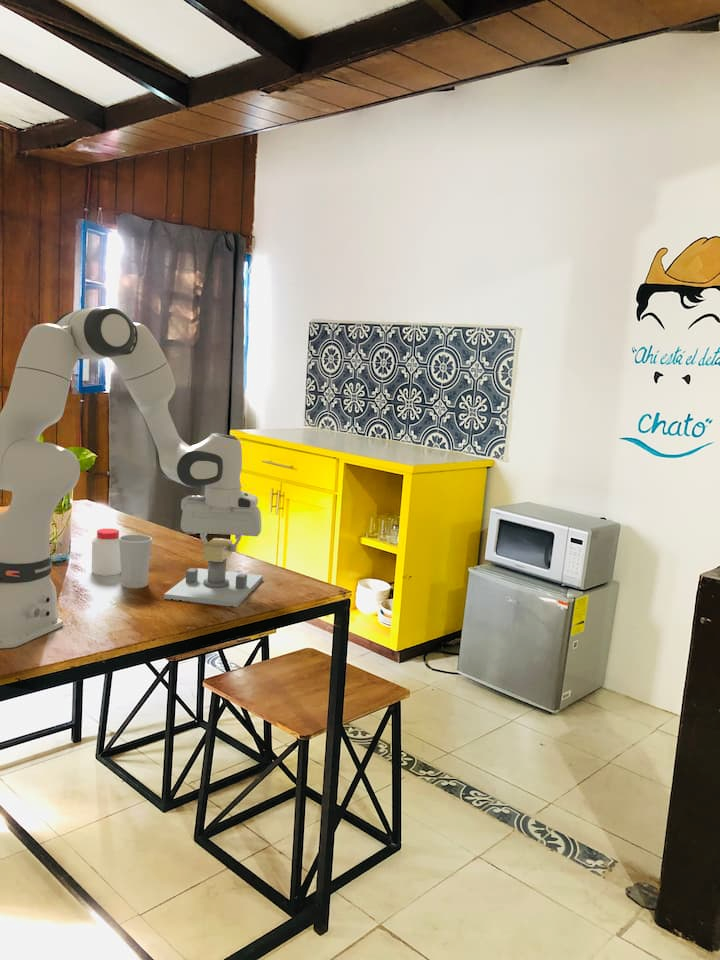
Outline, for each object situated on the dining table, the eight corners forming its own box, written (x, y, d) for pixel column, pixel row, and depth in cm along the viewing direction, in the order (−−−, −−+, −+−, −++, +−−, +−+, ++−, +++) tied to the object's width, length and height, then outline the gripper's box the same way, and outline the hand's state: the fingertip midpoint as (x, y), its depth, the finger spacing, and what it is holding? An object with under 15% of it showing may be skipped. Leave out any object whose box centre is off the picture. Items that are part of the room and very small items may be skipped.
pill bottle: (103, 577, 202) (104, 535, 200) (85, 570, 207) (86, 530, 205) (128, 572, 208) (129, 531, 207) (110, 565, 213) (111, 526, 211)
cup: (134, 577, 204) (135, 532, 202) (157, 584, 200) (159, 538, 198) (110, 584, 197) (112, 537, 195) (134, 591, 193) (135, 543, 191)
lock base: (236, 607, 187) (238, 578, 186) (164, 598, 189) (165, 569, 188) (262, 579, 210) (264, 553, 209) (197, 572, 213) (198, 546, 211)
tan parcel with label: (221, 566, 194) (222, 547, 193) (202, 564, 194) (203, 545, 194) (231, 557, 203) (232, 539, 202) (213, 555, 203) (214, 537, 203)
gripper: (178, 496, 196) (176, 550, 198) (261, 502, 196) (258, 556, 198) (184, 492, 202) (182, 544, 204) (263, 497, 202) (261, 550, 205)
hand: (220, 550), depth 201 cm, fingers open, 5 cm apart
